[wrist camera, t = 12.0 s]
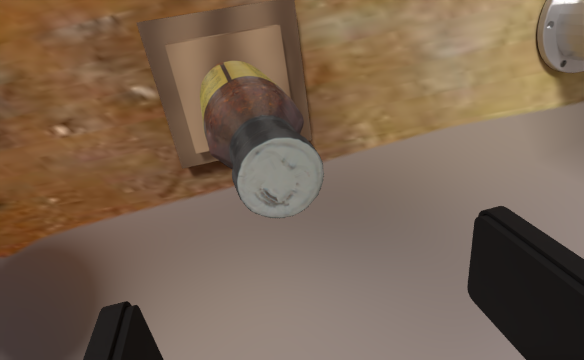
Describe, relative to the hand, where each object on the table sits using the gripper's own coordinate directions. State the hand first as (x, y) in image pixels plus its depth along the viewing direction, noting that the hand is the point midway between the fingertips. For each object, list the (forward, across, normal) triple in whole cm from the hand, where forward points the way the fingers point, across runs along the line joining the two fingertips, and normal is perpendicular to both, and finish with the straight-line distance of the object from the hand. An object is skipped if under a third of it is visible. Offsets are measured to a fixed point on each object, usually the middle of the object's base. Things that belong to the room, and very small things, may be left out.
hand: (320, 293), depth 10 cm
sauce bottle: (+27, 0, 0) cm, 27 cm away
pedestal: (+31, 0, 0) cm, 31 cm away
